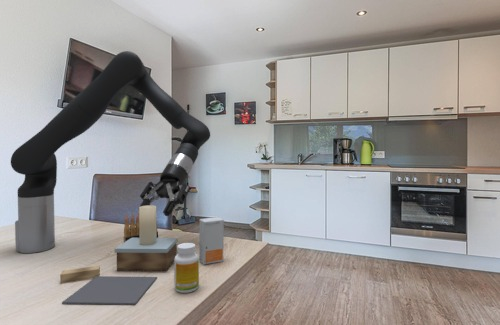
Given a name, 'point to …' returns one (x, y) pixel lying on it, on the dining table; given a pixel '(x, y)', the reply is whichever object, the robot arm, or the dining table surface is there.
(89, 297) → the mat
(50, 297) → the dining table surface
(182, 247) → the supplement bottle
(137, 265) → the wooden box
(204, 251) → the skincare box
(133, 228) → the ammunition clip
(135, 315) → the dining table surface
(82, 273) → the wooden block
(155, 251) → the lid
